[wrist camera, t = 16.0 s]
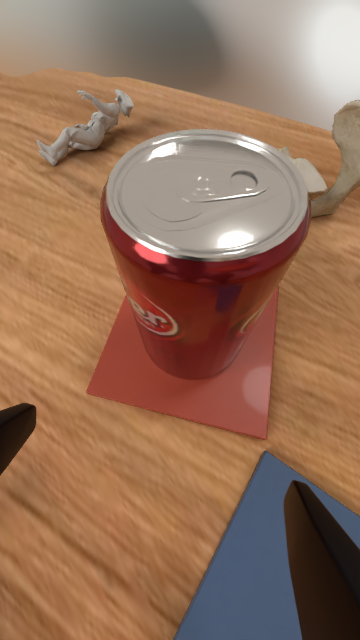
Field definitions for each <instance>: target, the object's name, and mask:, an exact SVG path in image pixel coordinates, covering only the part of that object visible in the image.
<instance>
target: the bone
mask: <svg viewBox="0 0 360 640" xmlns="http://www.w3.org/2000/svg"><path fill="white" fill-rule="evenodd" d="M332 135H333V139H334V141H335V142H336V144H337V146H338V147H339V148H340V151H341V156H342V163H341V169H340V173H339V175H338V178H337V180H336V182H335V184H334V185H333V186H332V188H331V189H330V190H329V191H328V192H327V186H326V184H325V182H324V180H323V178H322V176H321V175H320V174H319V173H318V171H317V169H316V168H315V167H314V166H313V165H312V164H311V163H310V162H309V161H308V160H307V159H304V158H298V159H293V158H291V156H290V153H289V150H288V148H287V147H284V148H283V149H281V148H279V149H277V150H278V151H280V152H281V153H283V154H284V155H285V156H286V157H287V158H289V159H290V160H291V161H292V162H293V163H294V164H295V165H296V167H297V169H298V170H299V172H300V173H301V175H302V176H303V179H304V182H305V185H306V188H307V191H308V195H309V198H310V201H311V200H313V199H314V198H316V197H317V196H322V195H323V196H322V197H320V198H318V199H316V200H314V201H311V217H316V216H321V215H326V214H333V213H334V212H335V211H336V209H337V208H338V207H339V205H340V203H341V202H342V201H343V200H344V199H345V198H346V197H347V196H348V195H349V194H350V193H351V192H352V191H354V190H355V189H356V188H358V187H359V186H360V100H355V101H352V102H350V103H347V104H346V105H345V106H344V107H343V108H342V109H340V110H339V111H338V112H337V113H336V114H335V115H334V124H333V130H332ZM326 192H327V193H326ZM325 193H326V194H325Z"/></svg>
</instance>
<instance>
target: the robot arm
mask: <svg viewBox="0 0 360 640" xmlns="http://www.w3.org/2000/svg"><path fill="white" fill-rule="evenodd" d="M35 426H36V407H35V406H34V405H31V404H28V403H22V404H19V405H16V406H13V407H10V408H7V409H4V410H1V411H0V475H1V474H2V473H3V471H4V470H5V469H6V468H7V466H8V465H9V464H10V462H11V461H12V459H13V458H14V457H15V455H16V454H17V453H18V451H19V450H20V449H21V447H22V446H23V444H24V443H25V442H26V440H27V439H28V438H29V436H30V435H31V434H32V432H33V431H34V429H35ZM283 508H284V519H285V530H286V541H287V552H288V562H289V569H290V575H291V580H292V586H293V591H294V597H295V603H296V608H297V614H298V619H299V625H300V630H301V636H302V640H360V549H359V548H358V547H357V545H356V544H355V543H354V542H353V540H352V539H351V538H350V537H349V535H348V534H347V533H346V532H345V530H344V529H343V528H342V527H341V525H340V524H339V523H338V522H337V521H336V519H335V518H334V517H333V516H332V514H331V513H330V512H329V511H328V509H327V508H326V507H325V506H324V504H323V503H322V502H321V501H320V499H319V498H318V497H317V496H316V495H315V493H314V492H313V491H312V490H311V488H310V487H309V486H308V485H307V484H306V483H304V482H300V481H297V480H292V481H291V483H290V485H289V488H288V490H287V492H286V495H285V497H284V502H283Z"/></svg>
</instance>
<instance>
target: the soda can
mask: <svg viewBox="0 0 360 640" xmlns="http://www.w3.org/2000/svg"><path fill="white" fill-rule="evenodd" d="M100 214H101V222H102V225H103V228H104V231H105V234H106V237H107V240H108V242H109V245H110V248H111V251H112V254H113V257H114V260H115V263H116V266H117V269H118V272H119V275H120V278H121V280H122V283H123V286H124V289H125V292H126V295H127V298H128V301H129V304H130V307H131V310H132V313H133V316H134V318H135V321H136V324H137V327H138V330H139V333H140V336H141V339H142V342H143V345H144V347H145V350H146V352H147V354H148V356H149V357H150V359H151V360H152V361H153V362H154V363H155V364H156V366H157V367H158V368H160V369H161V370H163V371H164V372H166V373H167V374H169V375H172V376H174V377H176V378H181V379H186V380H201V379H206V378H210V377H212V376H215V375H217V374H219V373H221V372H222V371H224V370H225V369H227V368H228V367H229V366H230V365H231V364H232V363H233V362H234V360H235V359H236V357H237V355H238V354H239V352H240V350H241V349H242V347H243V345H244V344H245V342H246V340H247V338H248V337H249V335H250V333H251V331H252V330H253V328H254V326H255V325H256V323H257V321H258V319H259V318H260V316H261V314H262V313H263V311H264V309H265V307H266V306H267V304H268V302H269V301H270V299H271V297H272V295H273V294H274V292H275V290H276V289H277V287H278V285H279V283H280V282H281V280H282V278H283V277H284V275H285V273H286V271H287V270H288V268H289V266H290V265H291V263H292V261H293V259H294V258H295V256H296V254H297V253H298V251H299V249H300V247H301V246H302V244H303V242H304V240H305V239H306V237H307V234H308V230H309V227H310V223H311V201H310V198H309V195H308V191H307V188H306V185H305V182H304V179H303V176H302V175H301V173H300V172H299V170H298V169H297V167H296V165H295V164H294V163H293V162H292V161H291V160H290V159H289V158H287V157H286V156H285V155H284V154H283V153H281V152H280V151H278V150H277V149H276V148H274V147H272V146H270V145H268V144H266V143H264V142H262V141H260V140H258V139H255V138H252V137H249V136H247V135H244V134H239V133H235V132H230V131H223V130H214V129H192V130H182V131H176V132H171V133H166V134H163V135H160V136H157V137H154V138H151V139H148V140H147V141H145V142H143V143H141V144H139V145H137V146H135V147H134V148H133V149H131V150H130V151H128V152H127V153H126V154H125V155H124V156H123V157H122V158H121V159H120V160H119V161H118V162H117V163H116V165H115V166H114V168H113V170H112V172H111V174H110V175H109V177H108V181H107V182H106V184H105V186H104V189H103V193H102V197H101V202H100Z"/></svg>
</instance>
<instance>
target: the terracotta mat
mask: <svg viewBox="0 0 360 640" xmlns="http://www.w3.org/2000/svg"><path fill="white" fill-rule="evenodd" d="M278 290H279V285H278V287H277V289H276V290H275V292H274V294H273V295H272V297H271V299H270V301H269V302H268V304H267V306H266V307H265V309H264V311H263V313H262V314H261V316H260V318H259V319H258V321H257V323H256V325H255V326H254V328H253V330H252V331H251V333H250V335H249V337H248V338H247V340H246V342H245V344H244V345H243V347H242V349H241V350H240V352H239V354H238V355H237V357H236V359H235V360H234V362H233V363H232V364H231V365H230V366H229V367H228V368H227V369H225V370H224V371H222V372H221V373H219V374H217V375H215V376H212V377H210V378H206V379H201V380H186V379H181V378H176V377H174V376H172V375H169V374H167V373H166V372H164V371H163V370H161V369H160V368H158V367H157V366H156V364H155V363H154V362H153V361H152V360H151V359H150V357H149V356H148V354H147V352H146V350H145V347H144V345H143V342H142V339H141V336H140V333H139V330H138V327H137V324H136V321H135V318H134V316H133V313H132V310H131V307H130V304H129V301H128V298H127V295H126V296H125V299H124V301H123V304H122V306H121V308H120V311H119V313H118V316H117V318H116V321H115V323H114V325H113V328H112V330H111V333H110V335H109V338H108V340H107V343H106V345H105V347H104V350H103V352H102V355H101V357H100V360H99V362H98V364H97V367H96V369H95V372H94V374H93V377H92V379H91V382H90V384H89V386H88V389H87V391H86V393H88V394H91V395H94V396H98V397H102V398H106V399H110V400H114V401H117V402H121V403H125V404H129V405H133V406H136V407H140V408H144V409H148V410H152V411H155V412H159V413H163V414H167V415H171V416H175V417H178V418H182V419H186V420H190V421H194V422H197V423H201V424H205V425H209V426H213V427H216V428H220V429H224V430H228V431H232V432H236V433H239V434H243V435H247V436H251V437H255V438H258V439H262V440H266V439H267V426H268V414H269V402H270V389H271V377H272V364H273V352H274V339H275V327H276V315H277V302H278Z"/></svg>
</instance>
